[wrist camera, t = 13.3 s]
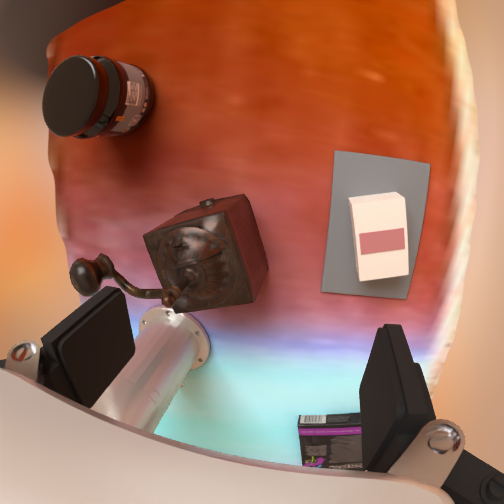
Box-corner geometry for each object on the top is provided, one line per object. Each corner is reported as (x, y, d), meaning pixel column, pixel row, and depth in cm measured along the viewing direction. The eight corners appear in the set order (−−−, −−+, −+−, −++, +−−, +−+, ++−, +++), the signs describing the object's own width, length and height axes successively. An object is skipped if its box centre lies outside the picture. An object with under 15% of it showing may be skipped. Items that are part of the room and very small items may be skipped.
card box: (395, 191, 33) (404, 197, 29) (400, 261, 36) (408, 275, 32) (348, 197, 35) (351, 204, 31) (356, 267, 37) (359, 281, 34)
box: (299, 410, 50) (303, 462, 56) (297, 424, 47) (301, 474, 53) (375, 408, 46) (365, 461, 52) (376, 422, 43) (365, 473, 49)
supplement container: (88, 99, 37) (30, 97, 26) (136, 51, 33) (80, 33, 22) (117, 151, 39) (58, 160, 28) (170, 104, 35) (116, 95, 24)
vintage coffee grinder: (245, 187, 37) (186, 226, 21) (270, 268, 40) (236, 356, 24) (144, 219, 42) (56, 267, 25) (171, 288, 45) (103, 361, 28)
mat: (405, 297, 38) (406, 299, 37) (320, 290, 40) (320, 291, 39) (429, 163, 31) (430, 164, 31) (334, 150, 33) (334, 150, 33)
